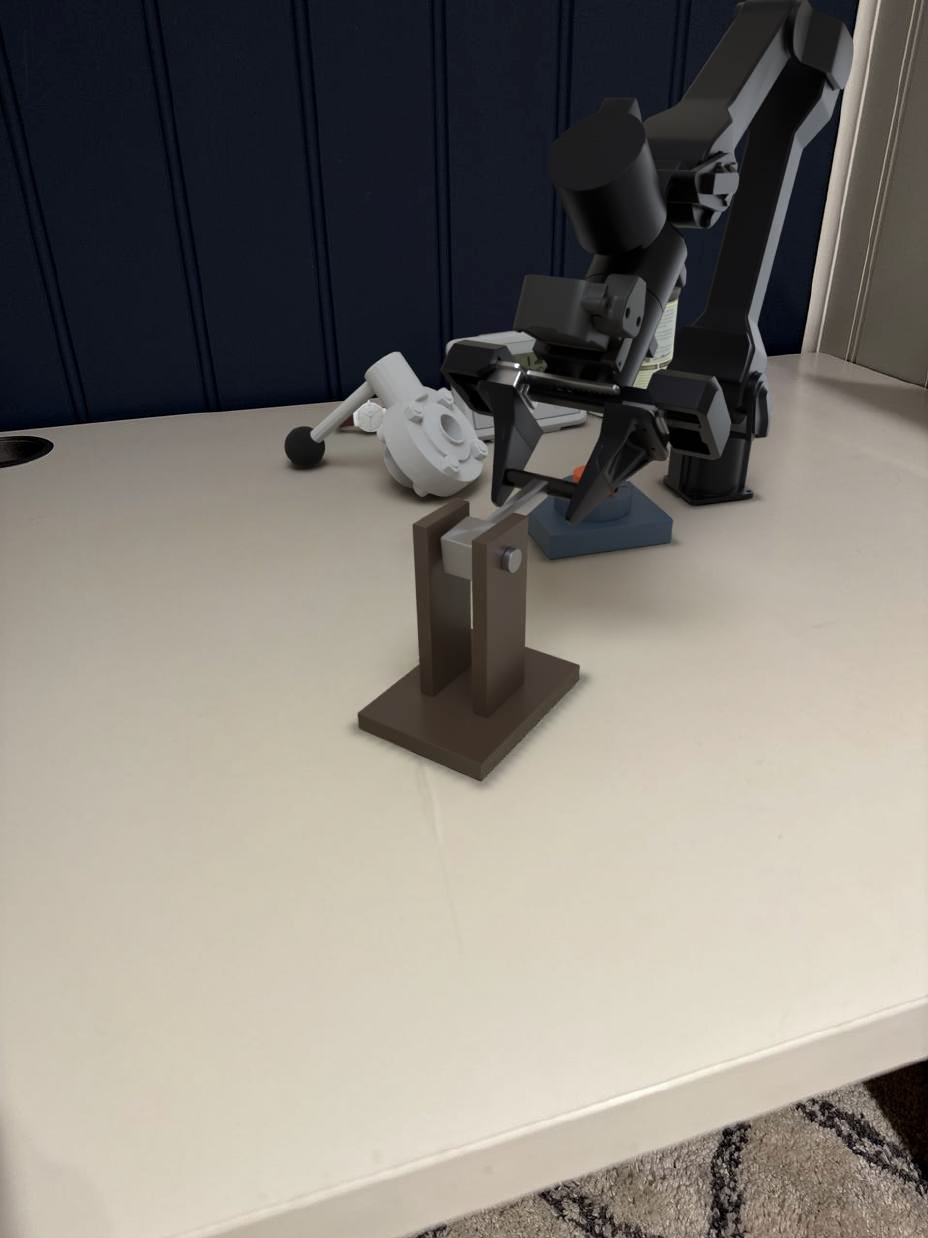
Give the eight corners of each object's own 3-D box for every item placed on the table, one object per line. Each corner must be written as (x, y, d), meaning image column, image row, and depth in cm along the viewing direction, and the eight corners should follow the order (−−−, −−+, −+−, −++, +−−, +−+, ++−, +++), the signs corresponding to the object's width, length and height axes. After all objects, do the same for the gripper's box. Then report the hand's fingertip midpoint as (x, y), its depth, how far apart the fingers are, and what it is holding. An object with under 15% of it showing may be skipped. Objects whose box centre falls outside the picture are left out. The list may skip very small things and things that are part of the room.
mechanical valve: (457, 488, 80) (361, 346, 79) (336, 576, 91) (249, 452, 89) (505, 459, 88) (419, 330, 87) (389, 543, 99) (310, 429, 98)
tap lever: (515, 489, 59) (514, 456, 58) (583, 505, 57) (583, 471, 56) (423, 567, 53) (419, 531, 51) (496, 589, 50) (493, 552, 49)
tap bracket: (466, 640, 64) (463, 470, 57) (579, 679, 59) (590, 500, 53) (358, 728, 55) (340, 540, 49) (481, 781, 51) (479, 583, 44)
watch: (338, 437, 101) (335, 405, 99) (333, 424, 105) (331, 393, 103) (406, 431, 102) (404, 399, 100) (398, 418, 106) (397, 388, 104)
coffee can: (564, 407, 109) (569, 285, 102) (618, 389, 115) (627, 273, 108) (632, 426, 102) (642, 298, 95) (685, 407, 108) (699, 284, 101)
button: (604, 481, 79) (605, 462, 78) (621, 496, 76) (622, 477, 75) (566, 485, 78) (567, 467, 78) (581, 501, 75) (582, 482, 75)
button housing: (627, 502, 84) (630, 461, 82) (670, 542, 77) (675, 499, 75) (515, 516, 82) (516, 475, 80) (549, 559, 74) (551, 515, 72)
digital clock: (456, 448, 97) (454, 349, 92) (439, 422, 105) (436, 329, 99) (597, 435, 100) (604, 338, 95) (571, 411, 108) (575, 319, 102)
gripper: (454, 208, 57) (353, 424, 54) (743, 227, 48) (637, 487, 45) (515, 315, 66) (432, 502, 64) (766, 347, 57) (680, 567, 55)
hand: (531, 513), depth 57 cm, fingers closed on tap lever, 5 cm apart
